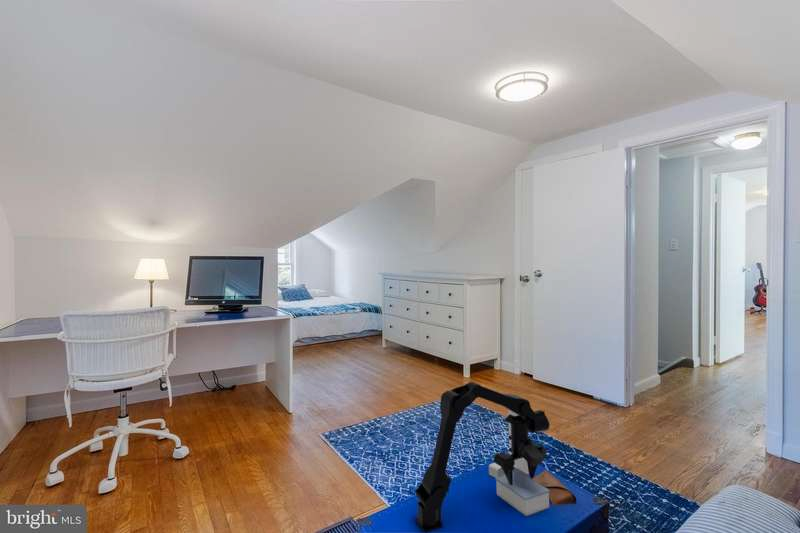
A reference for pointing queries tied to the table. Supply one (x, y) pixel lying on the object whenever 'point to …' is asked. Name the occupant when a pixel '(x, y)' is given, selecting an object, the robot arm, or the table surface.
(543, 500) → the tub
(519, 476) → the lid
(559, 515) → the table surface
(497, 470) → the usb wall charger
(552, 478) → the sunglasses case
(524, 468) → the cylindrical container
